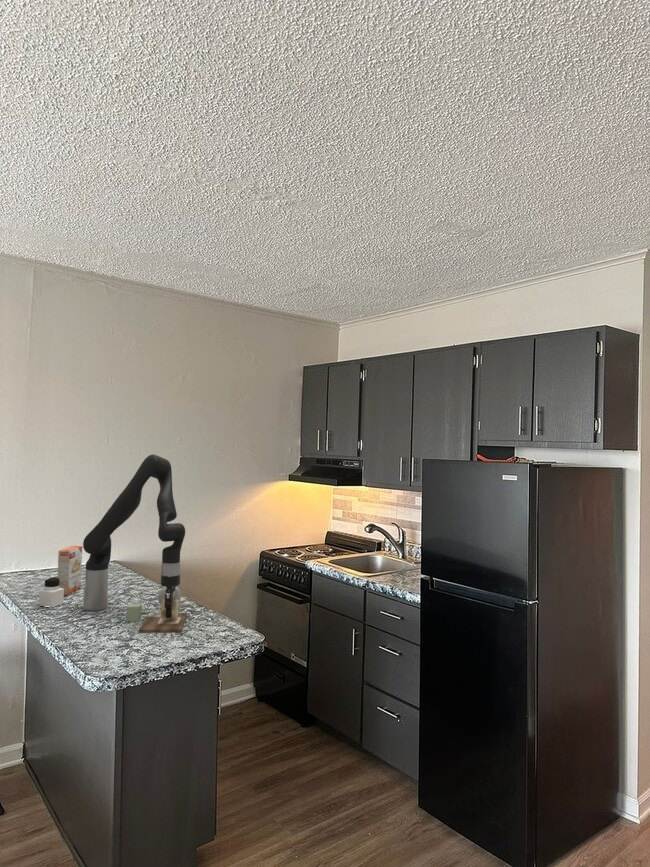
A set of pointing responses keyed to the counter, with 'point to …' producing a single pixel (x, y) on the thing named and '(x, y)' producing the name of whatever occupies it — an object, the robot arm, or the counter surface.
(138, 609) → the sage block
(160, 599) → the donut
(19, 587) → the counter surface
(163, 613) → the maple block
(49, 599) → the medicine bottle
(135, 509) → the robot arm
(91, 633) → the counter surface
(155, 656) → the counter surface
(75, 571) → the cracker box
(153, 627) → the baseplate
